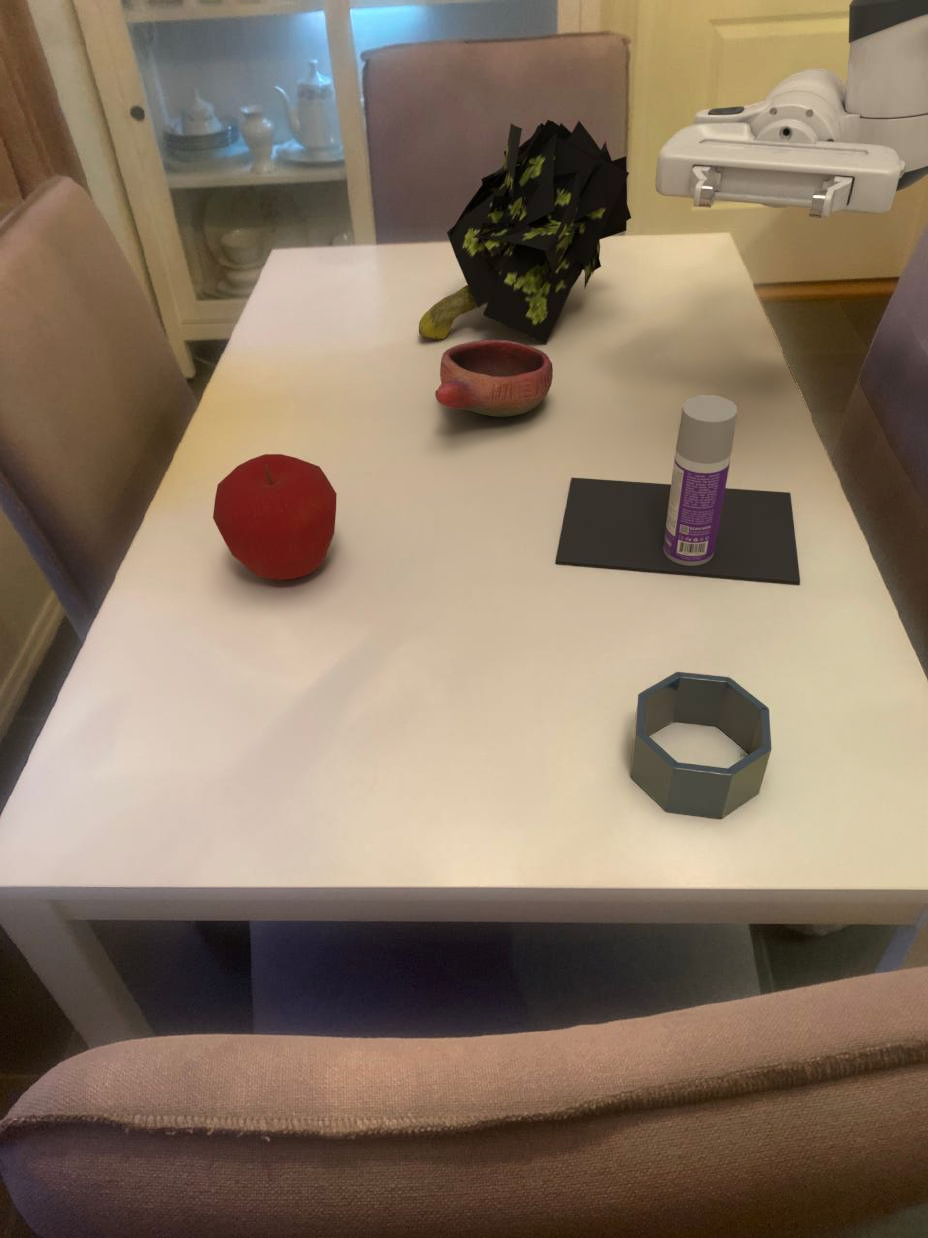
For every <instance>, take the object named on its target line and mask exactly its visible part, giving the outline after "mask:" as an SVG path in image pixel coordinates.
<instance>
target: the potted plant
mask: <svg viewBox="0 0 928 1238" xmlns="http://www.w3.org/2000/svg"><path fill="white" fill-rule="evenodd" d="M522 131H523V128H522V127H519V126H517V125H515V124H513V123H512V122H511V123H510V126H509V132H508V137H507V138H508V139H507V144H506V150H504V151H503V155H504V163H503V164H502V167H501V168H499V169H498V170H496V171H495V172H493V173H490V174H488V175H486V176H483V177H482V178H481V185H480V187H479V188H478V189H477V191H476V193H475V194H474V195H473V196H472V198H471V199H470V201H469V202H468V203H467V205H466V206H465V208H464V209H463V211H462V213H461V214H460V216H459V218H458V219H457V221H456V222H455V224H454V225H453V226H452V227H451V228H449V230H447V231H446V234H447V237H448V239H449V242H450V246H451V248H452V251H453V253H454V256H455V259H456V261H457V264H458V266H459V269H460V270H461V273H462V275H463V277H464V280H465V282H466V285H465V286H463V287H461V288H460V289H459V290H457V291H455V292H454V293H451V294H449V295H447V296H445V297H444V298H442V299H441V300H439V301H437V302H436V303H435V304H433V305H432V306H431V307H430V308H429V309H428V310H427V311H426V312H425V313H424V314H423V315H422V316H421V319H420V320H419V322H418V333H419V335H420V336H421V337H422V338H428V339H429V338H430V339H435V340H444V339H445V338H446V337H447V336H448V334H449V332H450V330H451V328H452V325H453V322H455V319H457V318H458V317H460V316H462V315H464V314H467V313H468V312H471V311H473V310H475V309H477V308H478V309H479V308H480V307H482V306H483V305H485V304H486V306H485V308H484V310H483V312H482V316H483V317H485V318H488V319H490V320H493V321H495V322H497V323H499V324H501V325H503V326H505V327H508V328H510V329H512V330H514V331H516V332H518V333H520V334H522V335H525V336H526V337H529V338H531V339H533V340H536V341H537V342H539V343H541V344H544V345H547V342H548V341H549V339H550V336H551V335H552V332H553V330H554V329H555V327H556V324H557V322H558V320H559V318H560V316H561V314H562V312H563V309H564V306H565V304H566V302H567V299H568V297H569V295H570V293H571V291H572V288H573V287H574V286H575V284H576V282H577V280H579V278H580V276H581V274H582V272H584V286H583V287H584V288H583V289H586V287H587V285H588V283H589V280H590V279H591V277H592V276H593V275H594V273H595V271H596V270H598V269H600V268H602V263H601V259H600V256H601V255H600V254H601V241H600V240H603V239H606V238H610V237H612V236H615V235H618V234H621V233H624V232H626V231H627V224H628V223H627V222H628V221H629V220H630V219H632V215H631V212H630V209H629V205H628V181H627V180H628V177H629V175H630V172H629V171H627V170H628V169H627V156H626V155H625V156H623V157H619V158H617V159H613V160H612V157H611V155H610V152H609V150H608V146H607V142H606V141H605V140H604V143H603V145H602V147H601V148H600V147H599V144H597V142H596V141H595V140H594V138H593V137H592V135H591V134H590V133H589V131H588V130H587V129H586V128H585V126H584V125H583V124H582V122H581V121H580V120H578V121H577V123H576V125H575V126H574V128H573V130H572V131H570V129H568V128H567V127H566V126H565V125H564V124H563V123H562V122H561V123H560V124H557V123H556V122H554V121H553V120H550V119H547V121H546V122H545V124H544V123H543V122H540V124H539V125H537V127H536V128H535V130H534V133H533V134H532V135H531V137H530V138H528V139H527V140H525V141H524V142H523V143H522V144H521V145H520V143H521V138H522Z"/></svg>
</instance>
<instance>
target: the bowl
mask: <svg viewBox="0 0 928 1238" xmlns="http://www.w3.org/2000/svg"><path fill="white" fill-rule="evenodd" d="M439 367H440V368H439V376H440V377H439V378H440V382H441V384H440V385H439V386H438V388H437V389H436V390H435V393H434V395H435V399H436V401H437V403H439V404H440V405H442V406H443V407H446V408H450V409H454V410H465V411H470V412H472V413H475V414H479V415H483V416H488V417H500V418H501V417H502V418H506V417H515V416H519V415H522V414H525V413H528V412H530V411H532V410H533V409H535V408H536V407H537V406H538V405H539V404H541V403H542V402H543V400H544V399H545V398H546V397H547V395H548V394H549V392H550V388H551V386H552V383H553V377H554V376H553V372H554V368H553V362H552V361H551V360H550V357H549V356H548V354H547V353H546V352H544V351H542V350H540V349H538V348H535V347H533V346H530V345H527V344H524V343H520V342H516V341H512V340H507V339H506V340H505V339H481V340H474V341H468V342H464V343H460V344H457V345H454V346H452V347H450V348H448V349H446V350H445V351H444V352H443V353H442V356H441V358H440V366H439Z"/></svg>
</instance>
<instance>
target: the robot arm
mask: <svg viewBox="0 0 928 1238" xmlns="http://www.w3.org/2000/svg"><path fill="white" fill-rule="evenodd" d="M848 7H849V9H848V10H849V13H848V44H849V49H848V50H849V51H848V52H849V53H848V60H847V61H848V62H847V70H846V71H847V72H846V81H845V82H844V80H843V79H842V78H841V77H840V76H839V75H838V74H836V73H835V72H833V71H831V70H829V69H825V68H819V67H816V68H815V67H813V68H807V69H804V70H800V71H797V72H795V73H793V74H791V75H789V76H788V77H786V78H784V79H783V80H781V81H780V82H779V83H778V84H776V86H774V87H772V89H771V90H770V91H769V93H768V94H767V95H766V97H765V98H764V99H763V100H761V101H758V102H754V103H751V104H747V105H746V104H745V105H742V106H741V105H740V106H729V107H716V108H711V109H701V110H699V111H698V112H696V113H695V115H694V119H693V123H692V124H689V125H687V126H684V127H683V128H681V129H679V130H678V131H677V132H676V133H674V134H673V135H672V136H671V137H670V138H669V139H668V140H667V141H666V142H665V144H663V146H662V147H661V149H660V150H659V152H658V156H657V162H656V170H655V191H656V192H657V193H658V194H659V195H661V196H663V197H675V198H676V197H677V198H685V199H686V198H687V199H693V203H692V206H693V207H694V208H706V209H707V208H708V209H711V208H712V206H713V205H714V204H715V201H722V202H731V203H732V202H733V203H744V204H757V205H762V206H764V207H767V208H774V209H786V208H799V209H801V208H802V209H809V213H808V217H809V218H818V219H828V218H829V216H830V214H832V213H835V212H847V213H848V212H849V213H858V214H869V215H878V214H882V213H886V212H888V211H890V210H891V209H892V207H893V202H894V199H895V196H896V192H899V191H902V190H904V189H907V188H909V187H911V186H912V185H914V184H916V183H917V182H919V181H920V180H922V179H924V178H925V177H926V176H927V175H928V0H851V1H850V4H849V5H848Z"/></svg>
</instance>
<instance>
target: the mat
mask: <svg viewBox="0 0 928 1238" xmlns="http://www.w3.org/2000/svg"><path fill="white" fill-rule="evenodd" d="M568 489H569V490H568V494H567V500H566V504H565V509H564V514H563V515H564V516H563V521H562V526H561V531H560V536H559V540H558V546H557V551H556V557H555V565H561V566H562V565H563V566H573V567H575V566H576V567H587V568H598V569H608V570H609V569H611V570H622V571H634V572H644V573H654V574H655V573H657V574H668V575H678V576H679V575H680V576H689V577H690V576H691V577H703V578H714V579H726V580H739V581H750V582H762V583H773V584H783V585H784V584H785V585H796V586H797V585H798V586H800V584H801V577H800V576H801V575H800V567H799V559H798V551H797V550H798V549H797V541H796V540H797V539H796V531H795V523H794V522H795V521H794V514H793V504H792V503H793V502H792V496H791V495H792V494H791V492H788V491H774V490H773V491H770V490H759V489H742V488H731V487H729V488H728V487H726V488H725V493H724V499H723V505H722V510H721V516H720V522H719V527H718V533H717V539H716V544H715V550H714V554H713V557H712V558H711V560H709V561H708V562H706V563H704V564H701V565H696V566H686V565H681V564H678V563H675V562H673V561H672V560H670V559H669V558H668V557H667V556H666V555H665V553H664V550H663V547H664V538H665V530H666V522H667V514H668V506H669V498H670V490H671V484H670V483H659V482H658V483H656V482H643V481H628V480H615V479H614V480H613V479H601V478H600V479H599V478H585V477H571V478H570V484H569V488H568Z"/></svg>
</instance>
